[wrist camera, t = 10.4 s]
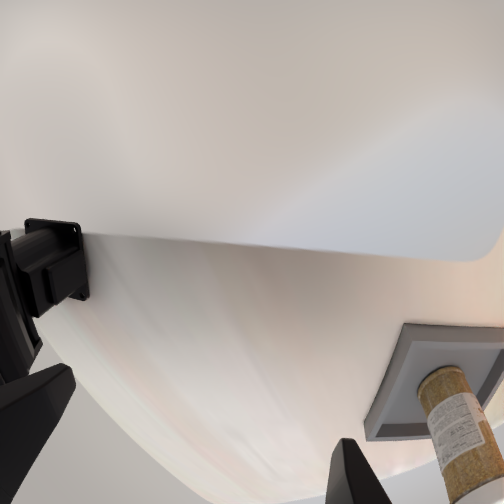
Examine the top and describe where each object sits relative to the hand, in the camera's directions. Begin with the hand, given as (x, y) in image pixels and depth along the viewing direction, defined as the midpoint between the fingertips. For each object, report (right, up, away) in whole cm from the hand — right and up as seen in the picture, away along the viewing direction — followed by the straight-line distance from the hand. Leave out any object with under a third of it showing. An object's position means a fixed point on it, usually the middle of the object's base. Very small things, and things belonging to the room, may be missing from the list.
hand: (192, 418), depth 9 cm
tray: (+18, -6, +13) cm, 23 cm away
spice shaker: (+17, -6, +13) cm, 22 cm away
